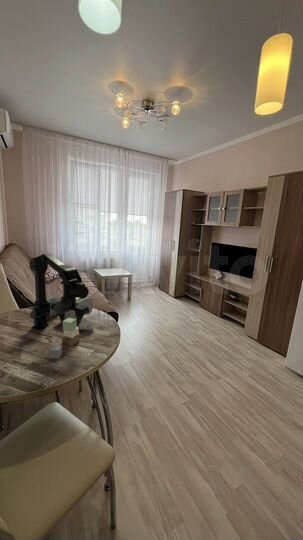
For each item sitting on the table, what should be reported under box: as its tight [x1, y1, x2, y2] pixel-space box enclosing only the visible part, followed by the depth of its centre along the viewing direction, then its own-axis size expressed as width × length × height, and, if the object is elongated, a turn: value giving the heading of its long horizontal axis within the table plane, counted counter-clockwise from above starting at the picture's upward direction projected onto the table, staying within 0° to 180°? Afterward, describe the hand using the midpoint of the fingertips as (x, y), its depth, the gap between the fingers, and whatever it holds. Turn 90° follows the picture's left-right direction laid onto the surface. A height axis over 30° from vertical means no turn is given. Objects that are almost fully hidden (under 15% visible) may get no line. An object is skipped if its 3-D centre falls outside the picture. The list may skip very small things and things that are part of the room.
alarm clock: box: [64, 296, 94, 322], centre depth 138 cm, size 21×10×13 cm, turn 159°
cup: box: [46, 297, 61, 317], centre depth 141 cm, size 8×8×10 cm
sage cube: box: [62, 318, 78, 331], centre depth 109 cm, size 4×4×4 cm
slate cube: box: [48, 344, 63, 359], centre depth 99 cm, size 4×4×4 cm
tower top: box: [63, 326, 80, 338], centre depth 110 cm, size 5×5×4 cm
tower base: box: [61, 332, 81, 347], centre depth 111 cm, size 6×6×4 cm
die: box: [78, 314, 95, 331], centre depth 125 cm, size 8×9×10 cm
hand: (70, 324), depth 109 cm, fingers open, 9 cm apart
